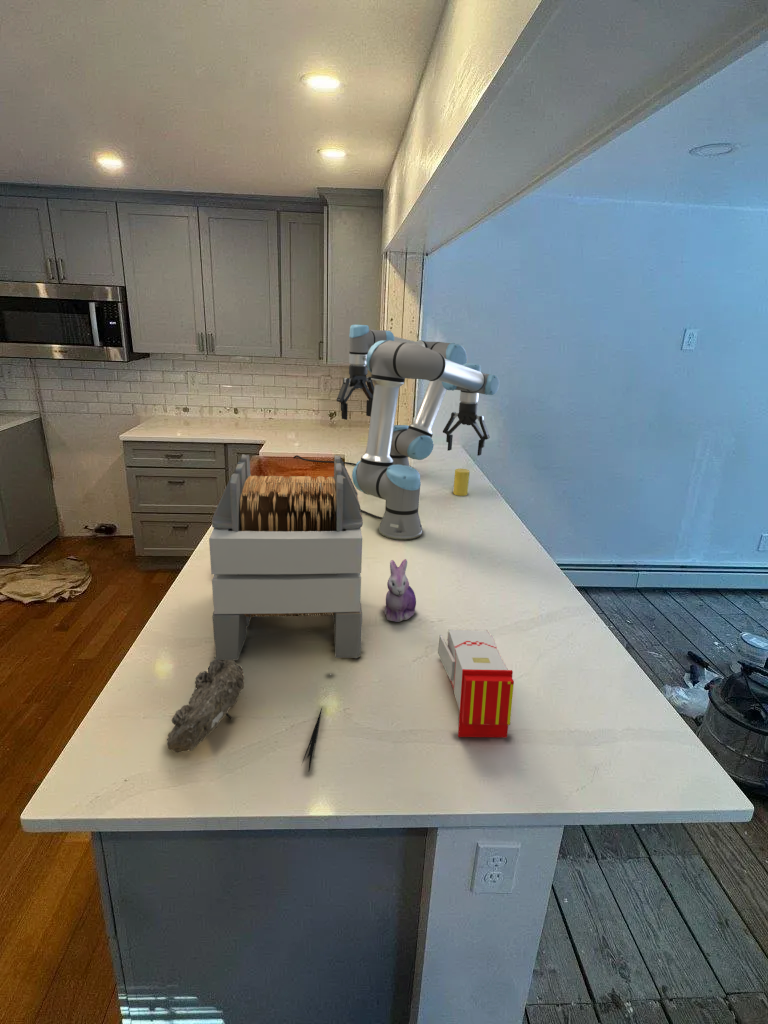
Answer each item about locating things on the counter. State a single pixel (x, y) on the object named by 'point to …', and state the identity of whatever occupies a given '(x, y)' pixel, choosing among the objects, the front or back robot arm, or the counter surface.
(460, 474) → the canister
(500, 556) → the counter surface
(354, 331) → the back robot arm
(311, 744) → the feather
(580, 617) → the counter surface
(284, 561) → the record crate
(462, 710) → the toy
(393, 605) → the figurine
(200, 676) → the fossil
